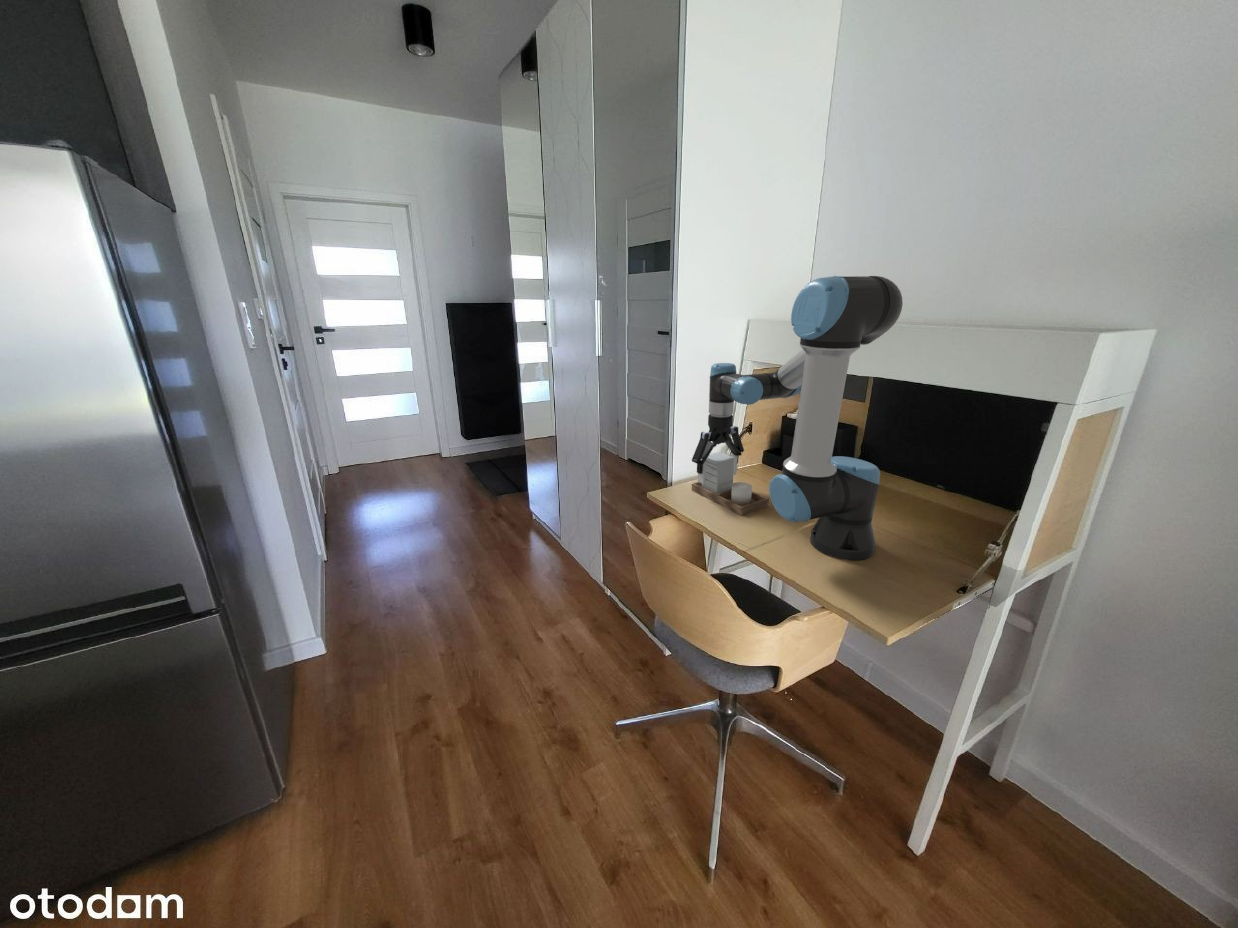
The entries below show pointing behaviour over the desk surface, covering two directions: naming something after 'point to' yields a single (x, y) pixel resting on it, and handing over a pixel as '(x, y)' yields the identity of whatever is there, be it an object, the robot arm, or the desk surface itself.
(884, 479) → the desk surface
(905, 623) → the desk surface
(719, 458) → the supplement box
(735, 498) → the ceramic jar
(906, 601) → the desk surface
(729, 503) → the tray
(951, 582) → the desk surface
